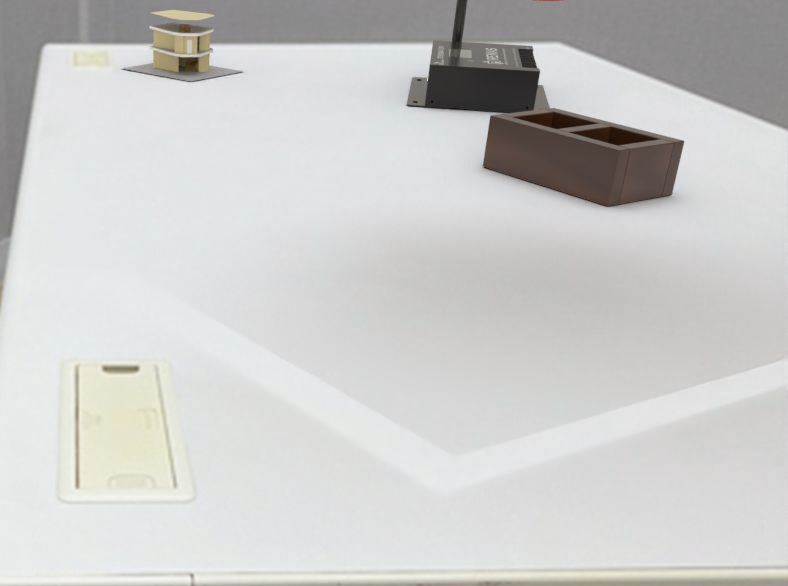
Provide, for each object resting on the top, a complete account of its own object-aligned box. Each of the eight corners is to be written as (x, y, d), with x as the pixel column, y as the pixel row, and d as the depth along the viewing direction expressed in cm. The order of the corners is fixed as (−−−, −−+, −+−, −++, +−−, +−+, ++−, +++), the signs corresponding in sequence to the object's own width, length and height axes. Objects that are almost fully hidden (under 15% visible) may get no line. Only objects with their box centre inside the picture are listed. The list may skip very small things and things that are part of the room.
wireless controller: (551, 115, 116) (587, -88, 107) (406, 105, 118) (429, -95, 109) (540, 79, 133) (570, -99, 124) (413, 71, 135) (433, -105, 126)
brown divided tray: (545, 157, 101) (553, 107, 99) (672, 195, 92) (685, 140, 90) (482, 167, 98) (489, 115, 96) (607, 206, 89) (619, 150, 86)
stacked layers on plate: (120, 68, 131) (120, 13, 128) (174, 59, 137) (175, 6, 134) (190, 81, 126) (192, 24, 123) (243, 71, 132) (246, 16, 129)
